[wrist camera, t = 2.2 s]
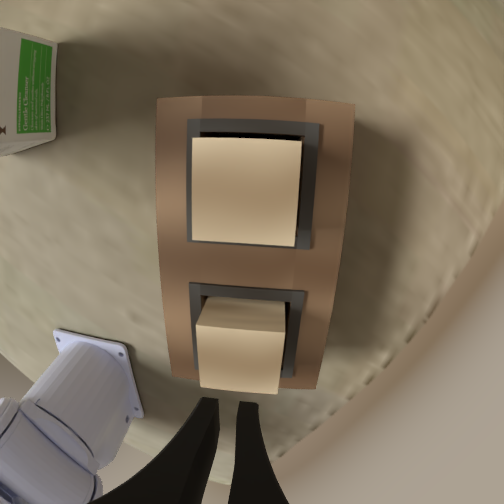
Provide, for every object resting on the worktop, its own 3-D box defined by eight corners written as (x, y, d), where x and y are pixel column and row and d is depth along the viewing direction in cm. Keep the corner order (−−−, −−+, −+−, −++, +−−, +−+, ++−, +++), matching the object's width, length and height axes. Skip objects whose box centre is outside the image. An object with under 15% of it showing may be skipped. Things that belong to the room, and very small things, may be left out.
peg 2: (278, 346, 19) (277, 394, 15) (214, 341, 19) (200, 386, 15) (284, 289, 17) (285, 332, 13) (213, 284, 18) (195, 324, 14)
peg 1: (290, 219, 16) (294, 246, 12) (213, 215, 16) (192, 240, 12) (295, 141, 15) (301, 141, 11) (214, 138, 15) (192, 137, 11)
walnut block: (310, 346, 22) (315, 391, 17) (189, 337, 22) (171, 378, 18) (336, 113, 16) (356, 103, 12) (184, 107, 17) (155, 97, 12)
